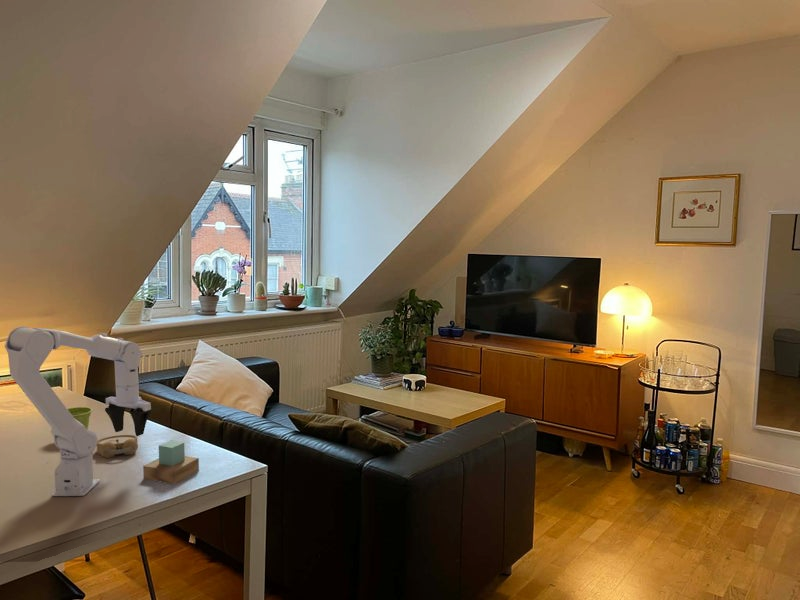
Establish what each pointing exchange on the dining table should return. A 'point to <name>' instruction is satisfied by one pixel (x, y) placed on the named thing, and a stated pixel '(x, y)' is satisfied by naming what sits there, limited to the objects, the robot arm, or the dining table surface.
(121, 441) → the alarm clock
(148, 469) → the walnut box
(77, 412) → the plant pot
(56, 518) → the dining table surface
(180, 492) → the dining table surface
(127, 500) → the dining table surface
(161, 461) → the teal block
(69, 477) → the robot arm
